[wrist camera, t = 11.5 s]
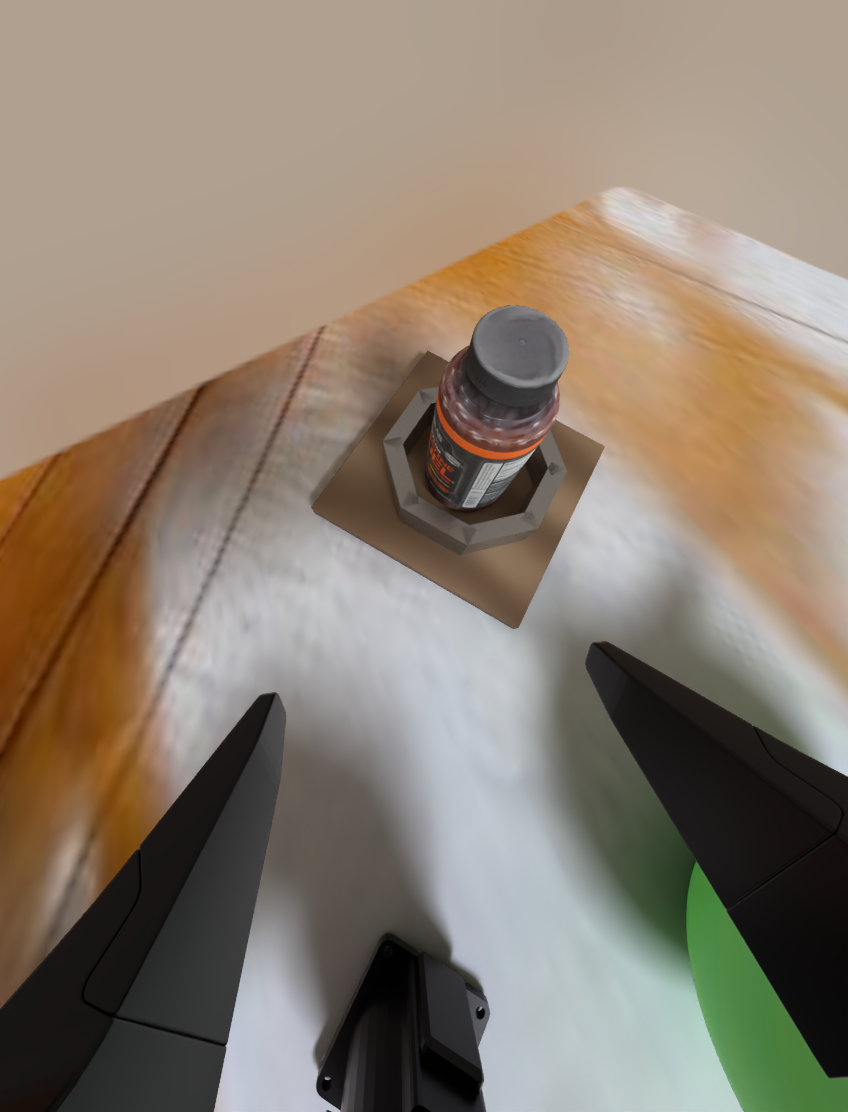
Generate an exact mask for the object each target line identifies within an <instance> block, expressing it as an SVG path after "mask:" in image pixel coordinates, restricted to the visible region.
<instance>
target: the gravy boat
mask: <svg viewBox="0 0 848 1112" xmlns="http://www.w3.org/2000/svg"><path fill="white" fill-rule="evenodd" d="M686 929H687V943H688V952H689V959H690V965H691V970H692V975H693V980H694V984H695V989H696V993H697V996H698V1000H699V1003H700V1007H701V1010H702V1013H703V1017H704V1020H705V1023H706V1026H707V1028H708V1031H709V1034H710V1037H711V1039H712V1042H713V1045H714V1047H715V1050H716V1052H717V1055H718V1057H719V1060H720V1062H721V1064H722V1067H723V1069H724V1071H725V1074H726V1076H727V1078H728V1080H729V1082H730V1085H731V1087H732V1089H733V1091H734V1093H735V1095H736V1097H737V1099H738V1101H739V1103H740V1105H741V1107H742V1109H743V1111H744V1112H848V1078H838V1079H829V1078H828V1077H827V1075H826V1074H825V1072H824V1071H823V1069H822V1068H821V1067H820V1065H819V1063H818V1062H817V1060H816V1059H815V1057H814V1055H813V1054H812V1052H811V1050H810V1049H809V1047H808V1045H807V1044H806V1042H805V1041H804V1039H803V1037H802V1036H801V1034H800V1032H799V1031H798V1029H797V1027H796V1026H795V1024H794V1022H793V1021H792V1019H791V1017H790V1016H789V1014H788V1012H787V1011H786V1009H785V1007H784V1006H783V1004H782V1002H781V1001H780V999H779V997H778V996H777V994H776V993H775V991H774V989H773V988H772V986H771V984H770V983H769V981H768V979H767V978H766V976H765V974H764V973H763V971H762V969H761V968H760V966H759V964H758V963H757V961H756V959H755V958H754V956H753V954H752V953H751V951H750V949H749V948H748V946H747V945H746V943H745V941H744V940H743V938H742V936H741V935H740V933H739V931H738V930H737V928H736V926H735V925H734V923H733V921H732V920H731V918H730V916H729V915H728V913H727V911H726V908H725V907H724V906H723V904H722V903H721V901H720V899H719V898H718V896H717V894H716V893H715V891H714V889H713V888H712V886H711V884H710V883H709V881H708V879H707V878H706V876H705V874H704V873H703V871H702V870H701V868H700V866H699V865H698V863H697V861H696V863H695V865H694V868H693V872H692V875H691V879H690V884H689V890H688V897H687V910H686Z"/></svg>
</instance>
